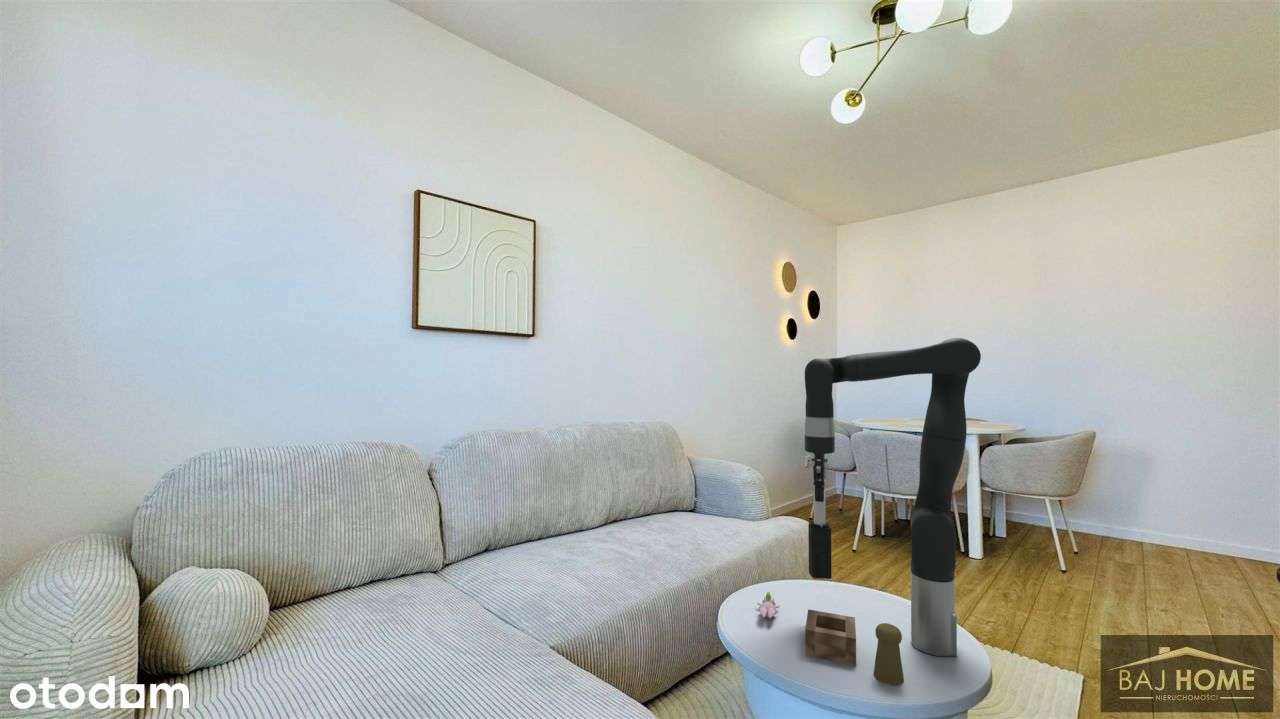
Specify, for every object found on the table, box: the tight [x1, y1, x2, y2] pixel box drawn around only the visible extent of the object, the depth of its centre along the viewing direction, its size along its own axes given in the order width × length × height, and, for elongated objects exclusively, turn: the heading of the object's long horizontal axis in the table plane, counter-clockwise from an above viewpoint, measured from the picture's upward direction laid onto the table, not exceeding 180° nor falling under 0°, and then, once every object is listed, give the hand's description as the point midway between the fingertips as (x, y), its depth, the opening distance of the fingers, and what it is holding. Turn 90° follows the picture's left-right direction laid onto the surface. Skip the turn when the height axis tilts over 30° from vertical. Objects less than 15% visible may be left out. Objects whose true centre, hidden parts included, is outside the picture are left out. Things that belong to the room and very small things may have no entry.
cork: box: [873, 622, 905, 687], centre depth 111 cm, size 6×6×11 cm
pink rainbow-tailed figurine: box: [756, 591, 781, 619], centre depth 140 cm, size 6×6×15 cm
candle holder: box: [804, 609, 857, 667], centre depth 123 cm, size 11×11×6 cm
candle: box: [807, 479, 832, 580], centre depth 134 cm, size 5×5×25 cm
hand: (819, 499), depth 134 cm, fingers closed on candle, 3 cm apart
